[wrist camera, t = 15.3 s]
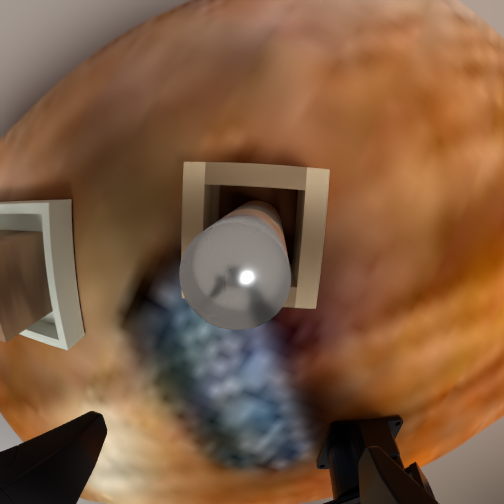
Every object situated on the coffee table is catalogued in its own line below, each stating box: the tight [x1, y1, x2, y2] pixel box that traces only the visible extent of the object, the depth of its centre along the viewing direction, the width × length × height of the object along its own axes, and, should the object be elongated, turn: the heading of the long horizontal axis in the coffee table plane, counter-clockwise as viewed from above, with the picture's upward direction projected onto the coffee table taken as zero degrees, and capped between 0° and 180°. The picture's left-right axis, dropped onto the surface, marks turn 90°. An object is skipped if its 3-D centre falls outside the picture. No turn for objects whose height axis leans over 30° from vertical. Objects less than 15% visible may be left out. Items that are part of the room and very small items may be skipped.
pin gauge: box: [179, 200, 291, 330], centre depth 12 cm, size 3×3×10 cm
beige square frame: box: [181, 162, 330, 309], centre depth 15 cm, size 6×6×4 cm
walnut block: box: [0, 230, 53, 342], centre depth 16 cm, size 6×6×6 cm
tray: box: [0, 199, 85, 350], centre depth 18 cm, size 10×10×2 cm
